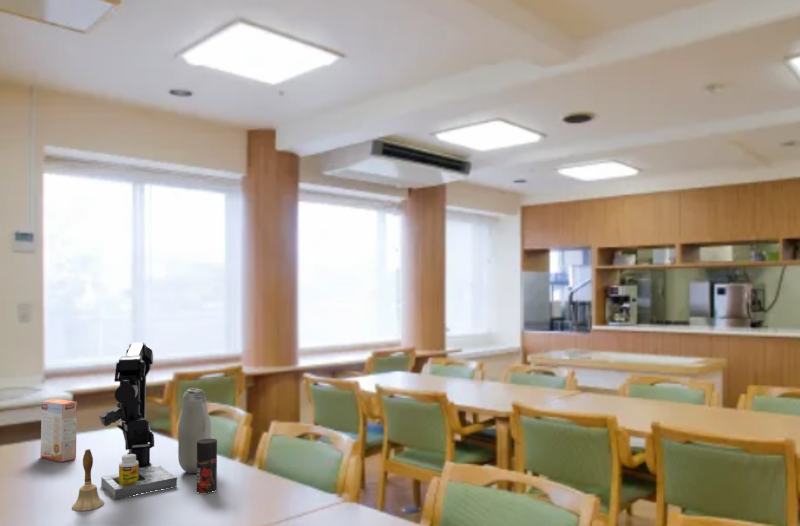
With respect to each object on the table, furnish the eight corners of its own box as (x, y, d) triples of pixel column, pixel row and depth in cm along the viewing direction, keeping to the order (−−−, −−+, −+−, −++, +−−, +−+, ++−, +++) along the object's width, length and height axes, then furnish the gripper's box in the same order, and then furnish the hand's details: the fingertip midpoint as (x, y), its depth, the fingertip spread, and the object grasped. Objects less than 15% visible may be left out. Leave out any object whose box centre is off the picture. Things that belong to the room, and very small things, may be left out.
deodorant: (220, 488, 190) (220, 439, 191) (208, 494, 185) (209, 444, 185) (204, 486, 192) (204, 438, 193) (192, 492, 187) (192, 442, 187)
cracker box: (77, 459, 224) (78, 401, 225) (60, 463, 219) (61, 404, 220) (56, 453, 231) (57, 397, 232) (39, 457, 226) (40, 400, 227)
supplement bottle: (120, 493, 186) (120, 458, 187) (117, 488, 191) (117, 454, 192) (139, 489, 189) (140, 456, 190) (136, 484, 194) (136, 452, 195)
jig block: (159, 475, 204) (160, 465, 204) (176, 487, 192) (176, 477, 192) (101, 486, 193) (101, 476, 193) (115, 500, 180) (115, 489, 180)
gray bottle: (216, 469, 210) (216, 387, 211) (194, 478, 200) (195, 391, 202) (193, 466, 214) (194, 385, 215) (171, 474, 205) (172, 389, 206)
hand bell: (70, 513, 170) (71, 454, 171) (72, 503, 178) (73, 447, 178) (103, 508, 173) (104, 451, 174) (104, 499, 181) (105, 444, 182)
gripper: (94, 396, 193) (93, 447, 193) (109, 405, 179) (109, 459, 178) (131, 392, 200) (130, 441, 200) (149, 401, 186) (148, 453, 185)
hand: (129, 448), depth 191 cm, fingers closed
